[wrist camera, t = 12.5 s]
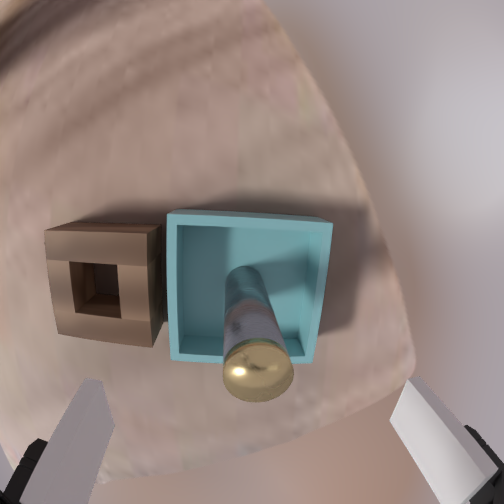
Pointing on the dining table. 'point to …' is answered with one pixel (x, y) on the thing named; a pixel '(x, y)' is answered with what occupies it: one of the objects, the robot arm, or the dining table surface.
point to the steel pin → (252, 340)
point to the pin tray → (235, 255)
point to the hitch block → (129, 279)
